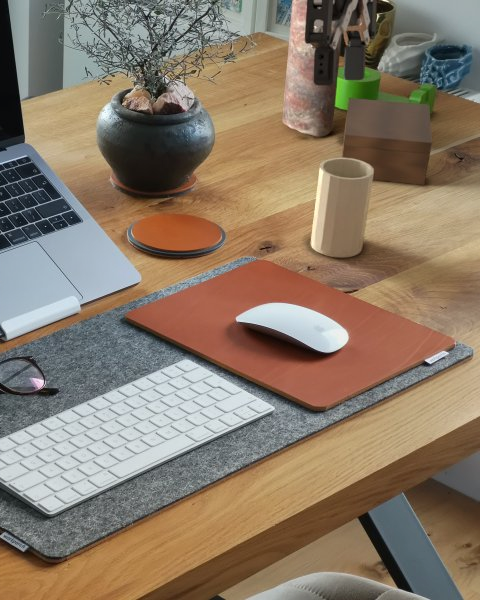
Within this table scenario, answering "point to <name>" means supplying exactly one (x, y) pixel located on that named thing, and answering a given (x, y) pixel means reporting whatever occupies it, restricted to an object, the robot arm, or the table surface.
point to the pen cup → (341, 207)
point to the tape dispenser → (370, 91)
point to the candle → (306, 82)
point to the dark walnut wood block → (389, 138)
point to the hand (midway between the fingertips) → (339, 82)
